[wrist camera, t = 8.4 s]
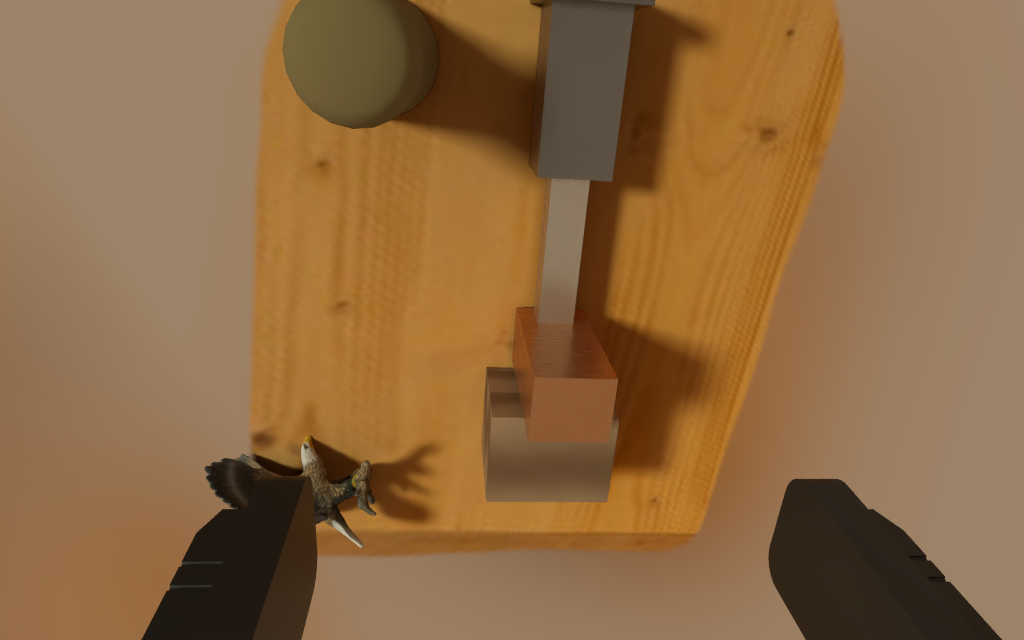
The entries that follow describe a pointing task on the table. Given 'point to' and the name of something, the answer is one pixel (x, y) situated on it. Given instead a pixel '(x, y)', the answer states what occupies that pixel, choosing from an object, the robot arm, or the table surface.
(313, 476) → the eagle figurine
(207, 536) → the robot arm
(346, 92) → the olive green pawn
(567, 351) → the bar
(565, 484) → the socket block
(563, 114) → the sleeve
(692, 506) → the table surface
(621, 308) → the table surface
